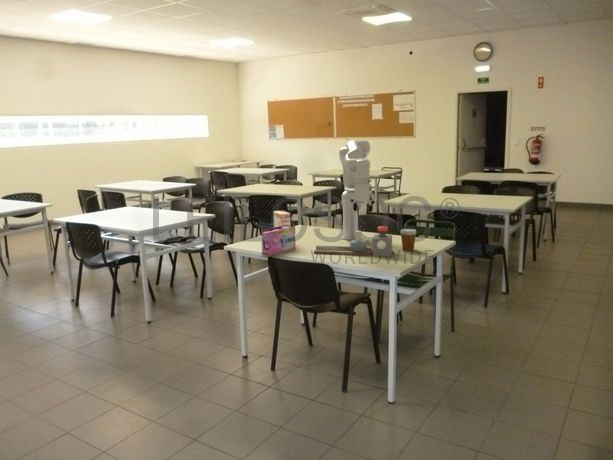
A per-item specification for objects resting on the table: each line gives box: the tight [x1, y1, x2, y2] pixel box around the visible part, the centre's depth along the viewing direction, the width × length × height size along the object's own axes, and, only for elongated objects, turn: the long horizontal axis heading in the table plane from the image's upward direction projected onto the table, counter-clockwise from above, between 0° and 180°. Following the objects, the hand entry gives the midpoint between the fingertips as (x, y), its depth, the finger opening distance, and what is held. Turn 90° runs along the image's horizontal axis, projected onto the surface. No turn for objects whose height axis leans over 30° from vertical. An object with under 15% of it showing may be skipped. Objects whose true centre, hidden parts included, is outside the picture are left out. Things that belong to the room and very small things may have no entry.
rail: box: [313, 244, 373, 256], centre depth 300 cm, size 12×33×4 cm, turn 76°
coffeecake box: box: [273, 210, 291, 228], centre depth 332 cm, size 15×7×20 cm, turn 20°
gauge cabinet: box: [372, 233, 393, 257], centre depth 294 cm, size 12×10×10 cm
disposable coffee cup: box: [399, 228, 417, 252], centre depth 302 cm, size 10×10×12 cm
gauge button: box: [377, 225, 389, 238], centre depth 293 cm, size 6×6×9 cm
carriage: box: [349, 230, 367, 251], centre depth 297 cm, size 7×8×11 cm
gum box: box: [261, 225, 297, 255], centre depth 308 cm, size 24×8×14 cm, turn 142°
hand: (362, 211), depth 293 cm, fingers open, 9 cm apart
